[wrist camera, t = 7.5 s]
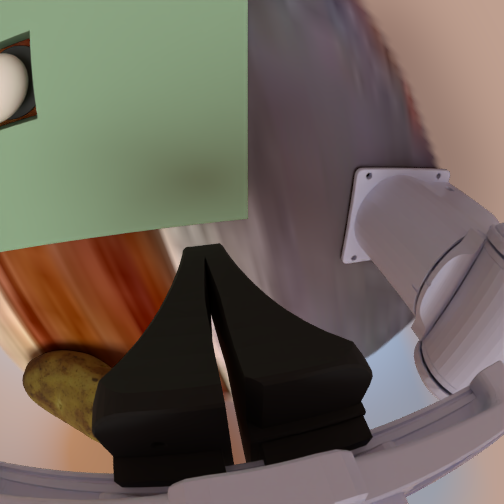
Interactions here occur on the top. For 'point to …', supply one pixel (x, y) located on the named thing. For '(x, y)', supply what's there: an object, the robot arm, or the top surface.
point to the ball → (11, 85)
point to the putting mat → (124, 118)
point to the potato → (66, 386)
